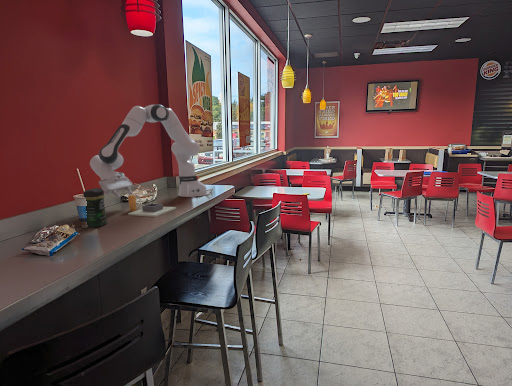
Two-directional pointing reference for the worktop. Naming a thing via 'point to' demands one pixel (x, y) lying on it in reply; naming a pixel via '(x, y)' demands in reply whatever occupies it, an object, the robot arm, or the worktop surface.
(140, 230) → the worktop surface
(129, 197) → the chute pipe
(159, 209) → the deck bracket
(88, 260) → the worktop surface
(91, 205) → the coffee jar
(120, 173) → the robot arm
